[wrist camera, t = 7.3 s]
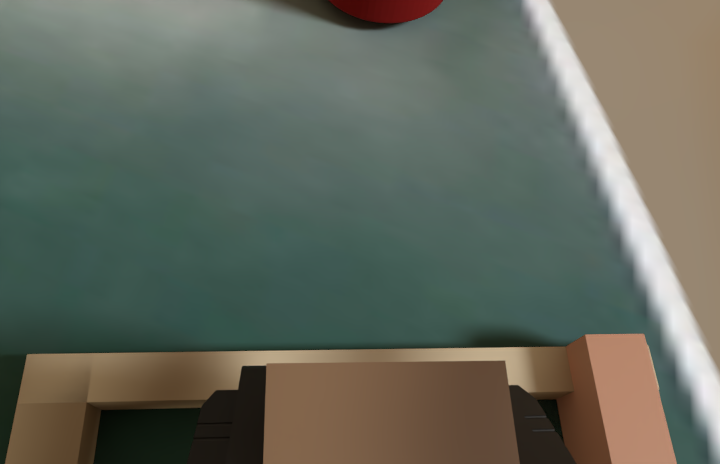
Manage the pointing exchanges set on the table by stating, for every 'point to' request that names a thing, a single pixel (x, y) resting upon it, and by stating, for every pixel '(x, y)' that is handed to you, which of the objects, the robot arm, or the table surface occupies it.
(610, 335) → the frame
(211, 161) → the table surface
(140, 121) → the table surface
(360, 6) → the beverage can
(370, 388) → the block
